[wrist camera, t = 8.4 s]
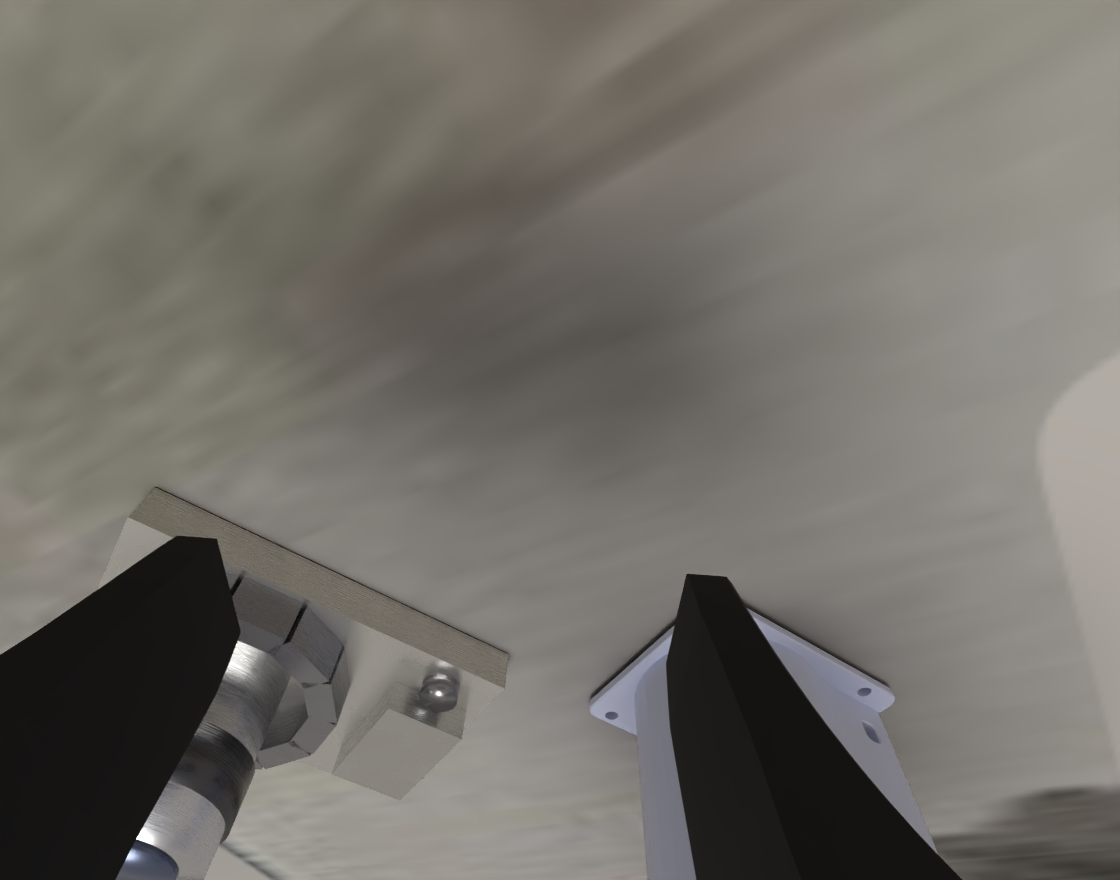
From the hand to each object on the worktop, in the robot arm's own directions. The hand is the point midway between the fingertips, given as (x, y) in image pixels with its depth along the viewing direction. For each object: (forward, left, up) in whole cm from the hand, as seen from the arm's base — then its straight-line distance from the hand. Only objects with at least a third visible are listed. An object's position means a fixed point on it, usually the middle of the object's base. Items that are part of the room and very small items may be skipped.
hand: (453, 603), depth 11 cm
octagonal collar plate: (0, +16, -10) cm, 19 cm away
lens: (+2, +16, -9) cm, 18 cm away
